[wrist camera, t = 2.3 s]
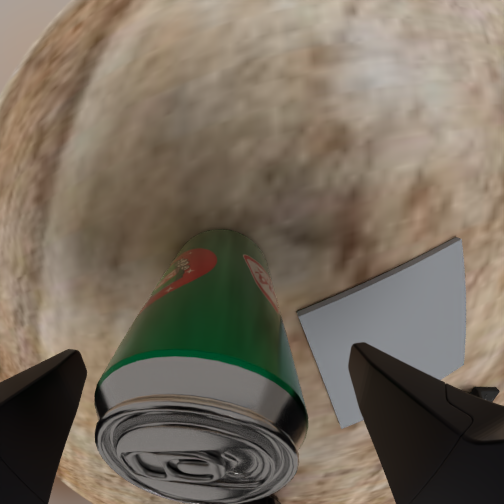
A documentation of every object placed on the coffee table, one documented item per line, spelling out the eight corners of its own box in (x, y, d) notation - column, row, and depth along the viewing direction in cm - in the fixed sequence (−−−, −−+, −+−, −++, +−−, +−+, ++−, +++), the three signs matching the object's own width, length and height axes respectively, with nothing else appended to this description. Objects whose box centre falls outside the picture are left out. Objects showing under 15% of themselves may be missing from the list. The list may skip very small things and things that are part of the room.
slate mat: (339, 423, 20) (341, 428, 20) (296, 311, 17) (298, 316, 16) (460, 361, 19) (463, 364, 19) (456, 236, 16) (461, 239, 16)
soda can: (269, 310, 17) (307, 505, 5) (183, 314, 17) (125, 501, 5) (265, 223, 15) (332, 378, 4) (170, 230, 15) (38, 374, 4)
